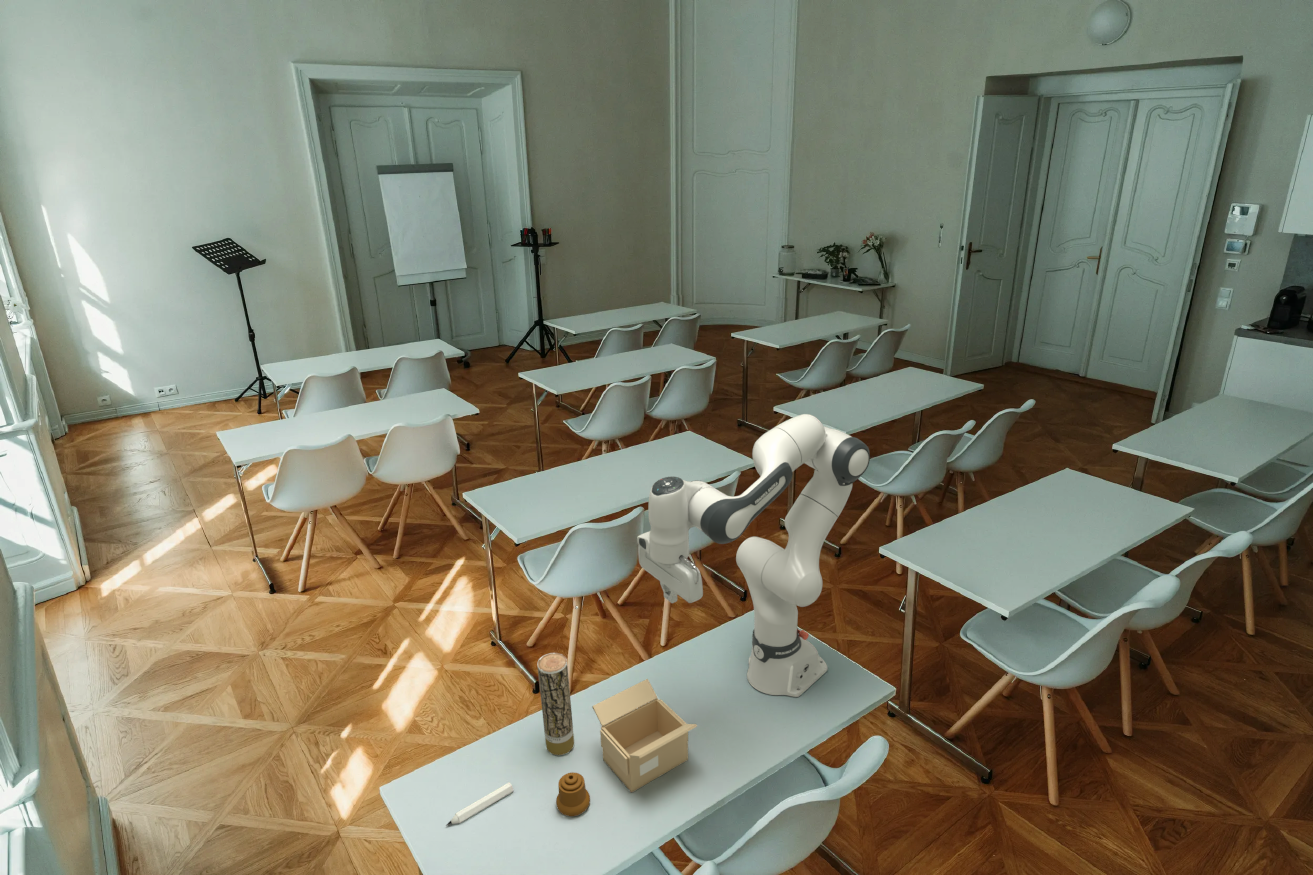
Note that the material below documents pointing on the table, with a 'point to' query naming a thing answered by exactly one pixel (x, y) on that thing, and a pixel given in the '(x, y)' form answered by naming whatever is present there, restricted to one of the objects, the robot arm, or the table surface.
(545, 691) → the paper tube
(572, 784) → the ornamental finial
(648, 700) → the flap far
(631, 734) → the carton
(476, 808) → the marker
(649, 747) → the flap near
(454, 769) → the table surface
